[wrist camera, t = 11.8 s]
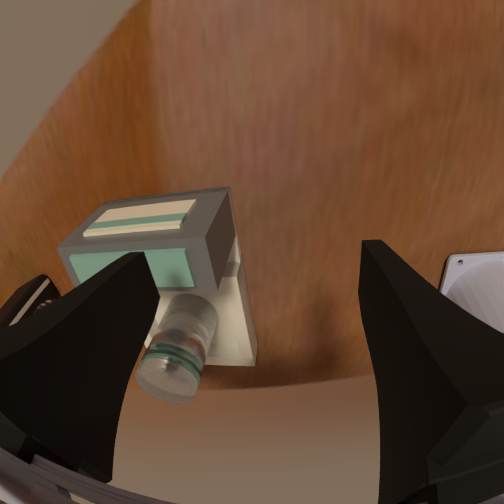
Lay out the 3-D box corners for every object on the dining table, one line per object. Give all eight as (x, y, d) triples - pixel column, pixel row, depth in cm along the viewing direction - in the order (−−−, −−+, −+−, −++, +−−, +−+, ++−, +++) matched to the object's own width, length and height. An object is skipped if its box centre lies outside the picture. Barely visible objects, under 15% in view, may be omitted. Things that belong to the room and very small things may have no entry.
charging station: (228, 183, 19) (202, 235, 13) (257, 345, 26) (248, 409, 21) (104, 198, 20) (51, 247, 15) (160, 342, 28) (138, 398, 22)
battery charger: (38, 313, 29) (-14, 389, 19) (17, 287, 27) (-41, 361, 18) (69, 300, 27) (9, 391, 17) (46, 270, 25) (-25, 357, 15)
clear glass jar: (224, 332, 25) (203, 406, 19) (177, 331, 26) (149, 400, 20) (211, 292, 23) (183, 370, 17) (160, 293, 23) (124, 364, 18)
